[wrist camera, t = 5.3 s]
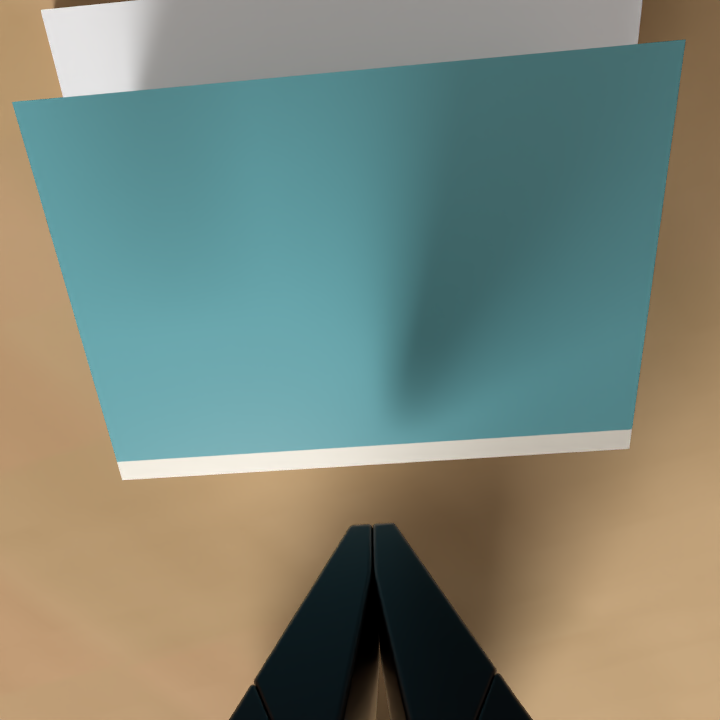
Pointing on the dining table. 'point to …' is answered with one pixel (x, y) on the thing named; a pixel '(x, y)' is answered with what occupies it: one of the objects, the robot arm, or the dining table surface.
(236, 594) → the dining table surface
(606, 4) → the mat
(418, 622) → the robot arm
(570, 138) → the teal block
